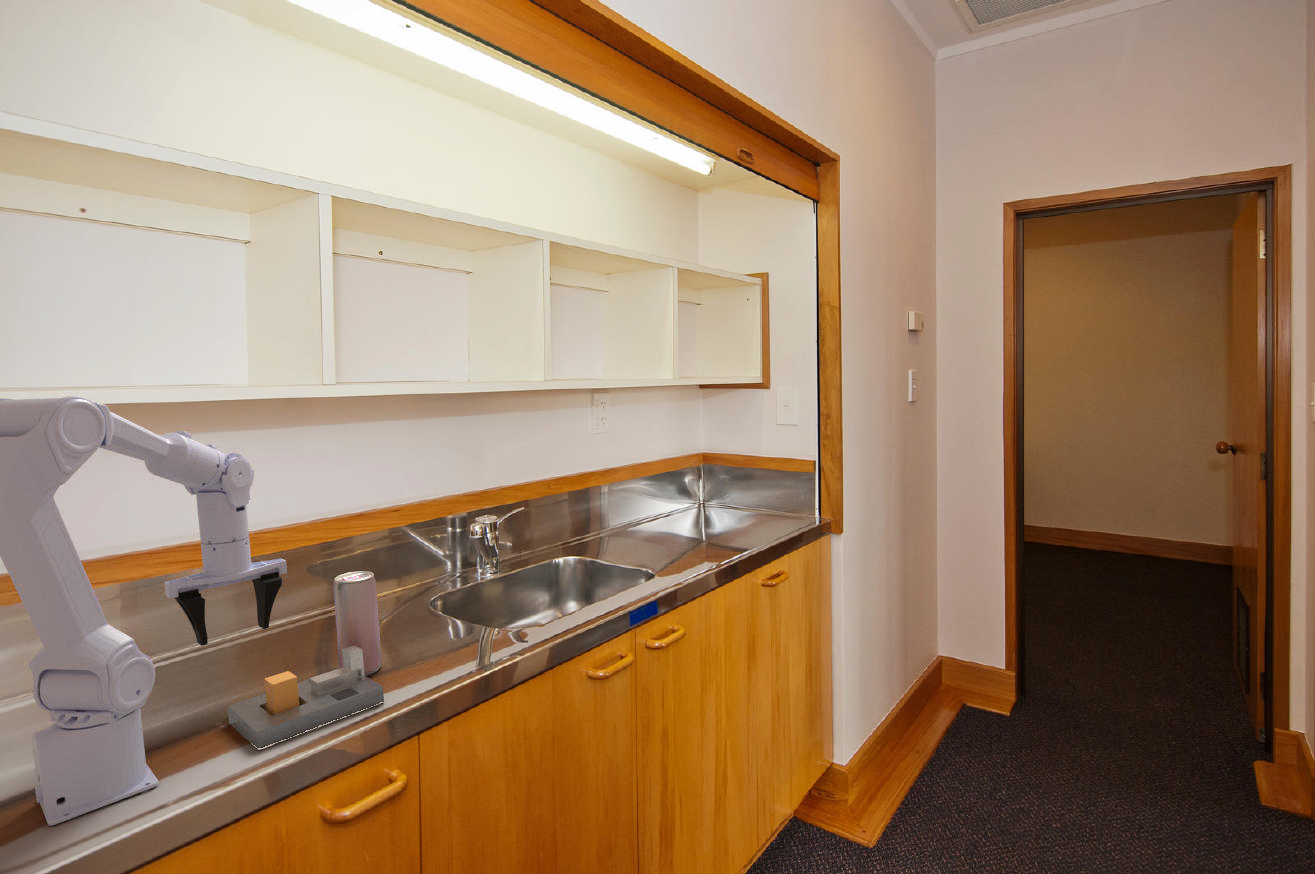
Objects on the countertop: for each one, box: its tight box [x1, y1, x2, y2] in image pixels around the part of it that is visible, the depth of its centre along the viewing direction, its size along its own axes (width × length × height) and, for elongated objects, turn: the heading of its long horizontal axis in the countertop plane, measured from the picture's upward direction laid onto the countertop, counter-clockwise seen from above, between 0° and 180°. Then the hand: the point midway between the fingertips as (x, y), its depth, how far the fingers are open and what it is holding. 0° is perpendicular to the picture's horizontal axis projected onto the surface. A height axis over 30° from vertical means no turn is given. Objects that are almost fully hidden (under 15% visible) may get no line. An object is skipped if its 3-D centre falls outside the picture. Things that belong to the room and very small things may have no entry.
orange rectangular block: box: [263, 670, 299, 716], centre depth 93 cm, size 3×3×6 cm
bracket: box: [309, 646, 365, 696], centre depth 98 cm, size 6×2×4 cm, turn 137°
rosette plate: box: [227, 676, 385, 748], centre depth 95 cm, size 16×11×2 cm
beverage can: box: [333, 570, 383, 677], centre depth 108 cm, size 6×6×15 cm
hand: (234, 635), depth 98 cm, fingers open, 7 cm apart
